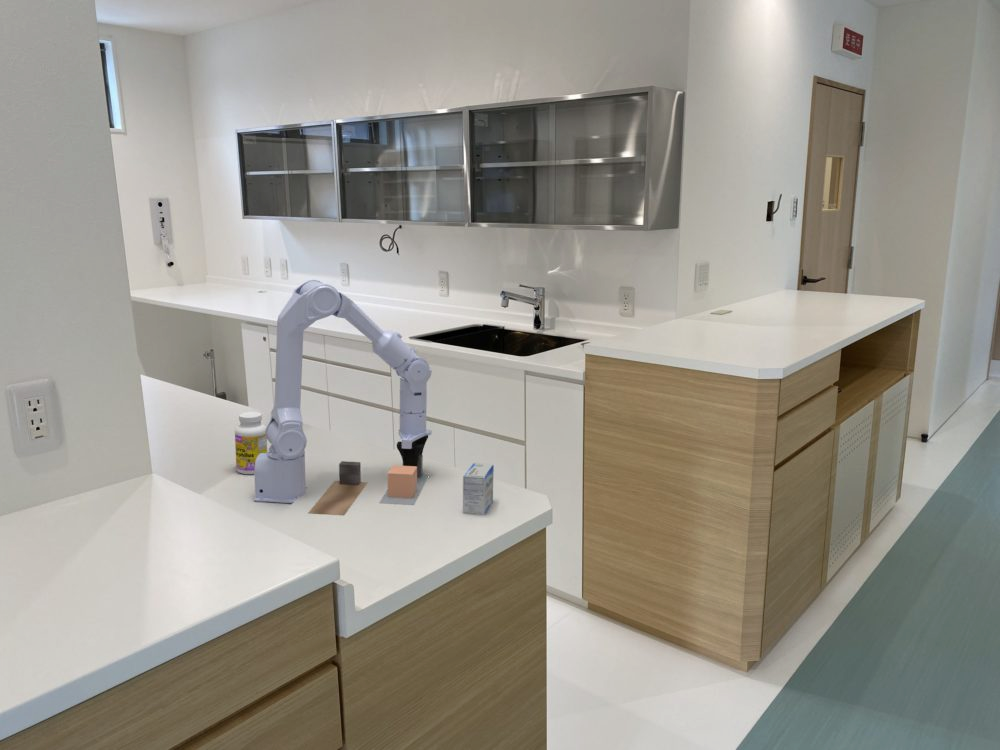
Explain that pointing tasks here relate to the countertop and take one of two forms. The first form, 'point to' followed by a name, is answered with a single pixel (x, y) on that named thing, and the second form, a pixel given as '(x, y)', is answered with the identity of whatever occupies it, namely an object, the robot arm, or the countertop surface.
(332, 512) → the walnut strip
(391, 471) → the terracotta block
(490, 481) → the medicine box
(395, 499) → the slate strip
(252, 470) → the supplement bottle
